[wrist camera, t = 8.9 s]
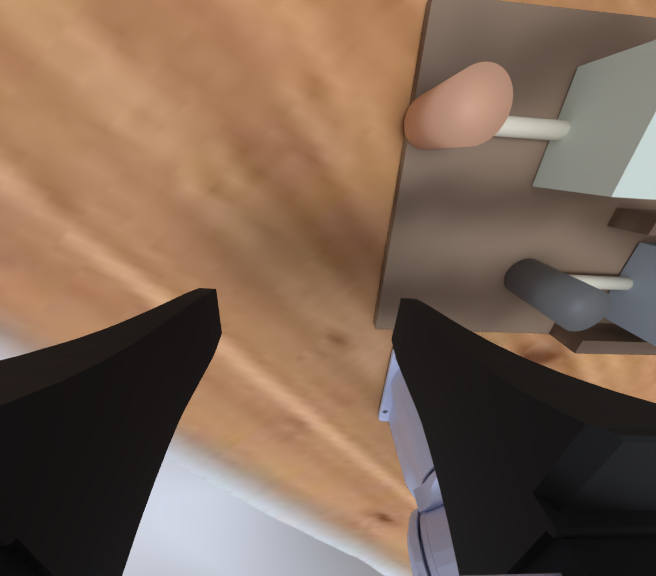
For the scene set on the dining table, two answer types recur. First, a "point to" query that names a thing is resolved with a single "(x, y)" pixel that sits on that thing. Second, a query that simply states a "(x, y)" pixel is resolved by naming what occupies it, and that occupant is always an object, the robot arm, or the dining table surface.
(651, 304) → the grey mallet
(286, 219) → the dining table surface
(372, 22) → the dining table surface
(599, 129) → the sage cube mallet
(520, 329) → the shelf
